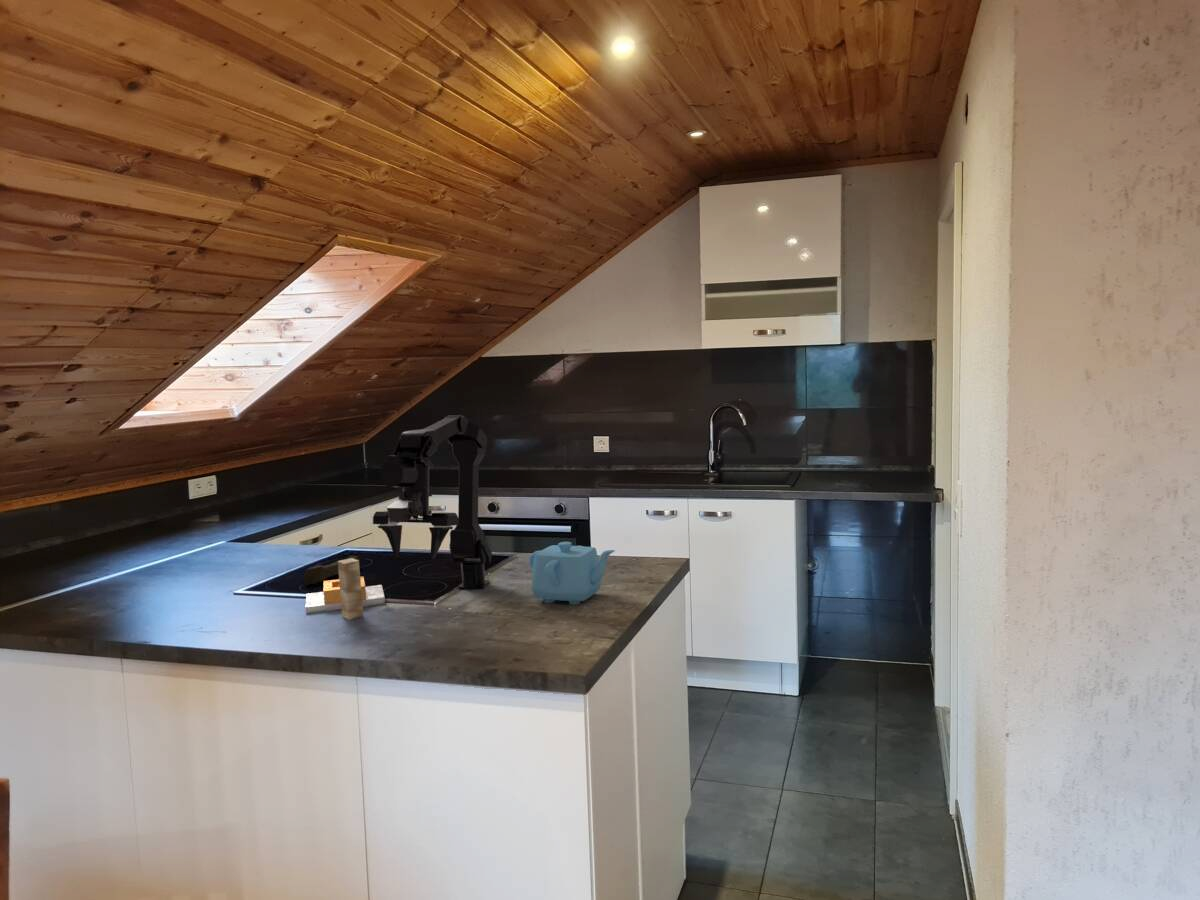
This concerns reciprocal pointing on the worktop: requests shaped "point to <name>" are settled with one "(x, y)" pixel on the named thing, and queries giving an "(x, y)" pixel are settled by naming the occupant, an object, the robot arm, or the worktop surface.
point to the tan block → (350, 588)
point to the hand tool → (323, 572)
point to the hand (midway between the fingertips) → (414, 557)
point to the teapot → (567, 572)
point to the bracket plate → (320, 606)
